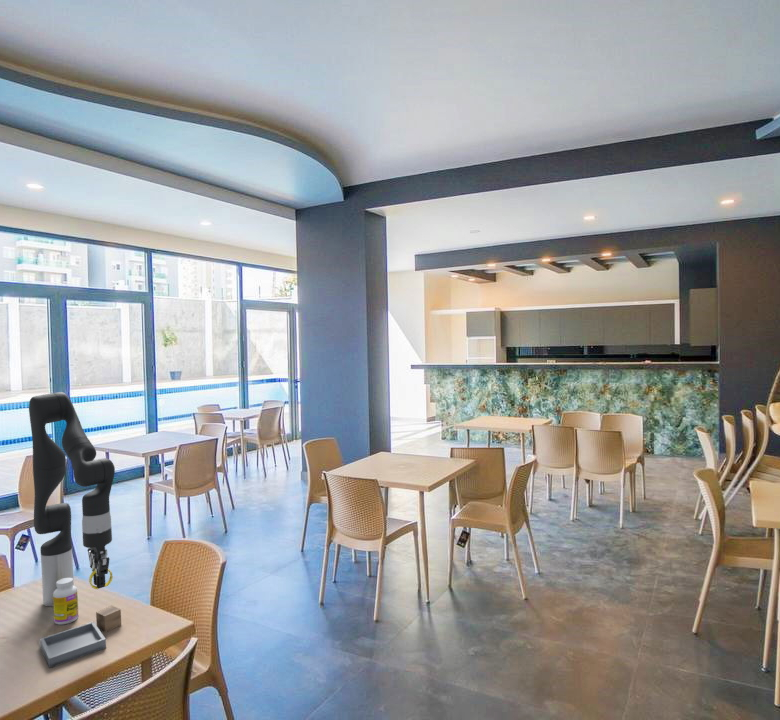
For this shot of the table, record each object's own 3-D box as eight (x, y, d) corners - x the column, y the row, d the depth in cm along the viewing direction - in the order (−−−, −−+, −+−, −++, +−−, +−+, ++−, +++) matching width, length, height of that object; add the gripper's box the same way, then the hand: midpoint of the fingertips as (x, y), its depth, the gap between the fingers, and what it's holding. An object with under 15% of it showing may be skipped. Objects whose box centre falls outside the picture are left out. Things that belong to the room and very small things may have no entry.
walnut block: (96, 628, 168) (96, 612, 168) (112, 620, 173) (111, 605, 172) (105, 632, 166) (104, 616, 166) (121, 625, 170) (120, 609, 170)
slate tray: (40, 647, 158) (40, 638, 158) (94, 629, 167) (93, 621, 167) (49, 668, 148) (49, 658, 147) (106, 647, 157) (105, 639, 157)
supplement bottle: (67, 626, 170) (65, 585, 169) (49, 624, 171) (47, 584, 171) (83, 615, 176) (81, 576, 176) (65, 614, 178) (63, 575, 177)
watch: (91, 592, 158) (88, 573, 157) (89, 589, 160) (87, 570, 160) (114, 584, 162) (111, 565, 161) (112, 581, 164) (109, 562, 163)
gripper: (76, 525, 162) (79, 582, 163) (89, 537, 152) (92, 598, 153) (104, 519, 167) (106, 574, 168) (118, 530, 157) (120, 589, 158)
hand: (99, 585), depth 160 cm, fingers closed on watch, 2 cm apart
